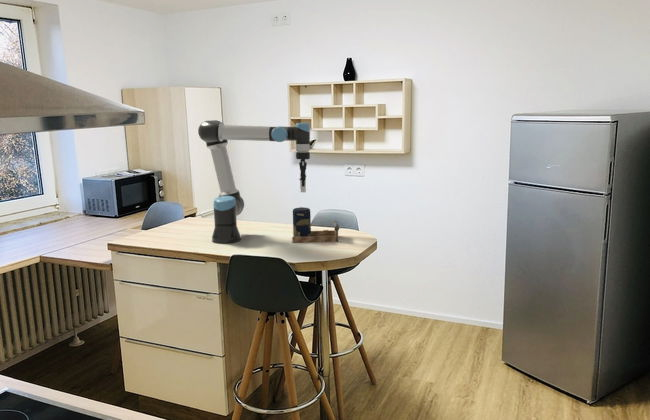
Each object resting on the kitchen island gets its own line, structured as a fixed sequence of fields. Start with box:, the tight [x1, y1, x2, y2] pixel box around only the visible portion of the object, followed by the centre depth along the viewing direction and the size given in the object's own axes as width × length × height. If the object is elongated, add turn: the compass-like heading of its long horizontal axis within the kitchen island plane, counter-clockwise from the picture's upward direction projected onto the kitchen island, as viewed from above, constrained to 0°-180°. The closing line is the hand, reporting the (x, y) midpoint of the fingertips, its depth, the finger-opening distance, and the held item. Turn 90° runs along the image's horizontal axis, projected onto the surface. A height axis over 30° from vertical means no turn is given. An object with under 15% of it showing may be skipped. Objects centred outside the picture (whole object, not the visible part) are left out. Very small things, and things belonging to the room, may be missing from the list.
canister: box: [292, 206, 312, 237], centre depth 281 cm, size 10×10×18 cm
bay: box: [291, 220, 340, 244], centre depth 282 cm, size 25×15×8 cm, turn 92°
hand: (302, 190), depth 288 cm, fingers open, 13 cm apart
